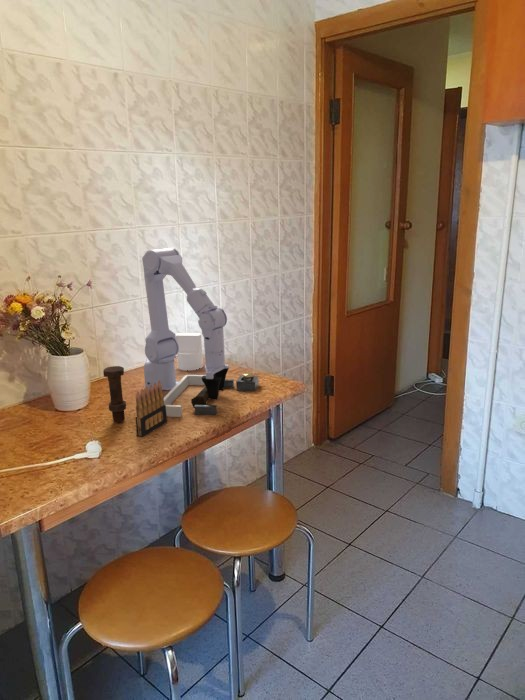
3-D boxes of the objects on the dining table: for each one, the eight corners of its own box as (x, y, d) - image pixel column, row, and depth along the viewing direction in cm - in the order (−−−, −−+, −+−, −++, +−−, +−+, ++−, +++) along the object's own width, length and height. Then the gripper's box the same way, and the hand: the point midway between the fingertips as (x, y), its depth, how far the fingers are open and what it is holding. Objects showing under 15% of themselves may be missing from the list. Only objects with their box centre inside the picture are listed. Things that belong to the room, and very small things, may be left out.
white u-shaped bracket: (156, 416, 149) (155, 406, 148) (186, 383, 175) (185, 374, 175) (181, 416, 148) (180, 406, 147) (207, 383, 174) (206, 375, 174)
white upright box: (174, 370, 190) (172, 337, 187) (182, 362, 199) (180, 331, 196) (199, 370, 189) (197, 337, 186) (205, 363, 197) (203, 331, 194)
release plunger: (241, 387, 168) (240, 375, 167) (243, 383, 172) (242, 372, 171) (252, 387, 168) (251, 376, 167) (254, 383, 171) (253, 372, 170)
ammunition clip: (161, 421, 145) (158, 379, 142) (167, 422, 145) (164, 379, 142) (136, 436, 136) (132, 391, 133) (142, 437, 135) (138, 392, 132)
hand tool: (206, 407, 151) (200, 392, 150) (194, 411, 152) (188, 396, 151) (226, 386, 168) (221, 372, 168) (215, 389, 170) (210, 376, 169)
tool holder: (195, 414, 149) (194, 404, 148) (217, 383, 174) (217, 374, 174) (242, 416, 147) (242, 405, 146) (258, 384, 172) (258, 375, 171)
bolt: (133, 418, 147) (128, 366, 143) (123, 426, 143) (117, 372, 139) (115, 416, 149) (109, 365, 145) (104, 423, 145) (98, 370, 141)
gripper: (222, 357, 148) (224, 403, 152) (233, 344, 162) (235, 386, 166) (197, 357, 150) (200, 403, 153) (210, 344, 163) (212, 386, 167)
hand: (216, 394), depth 160 cm, fingers open, 7 cm apart
